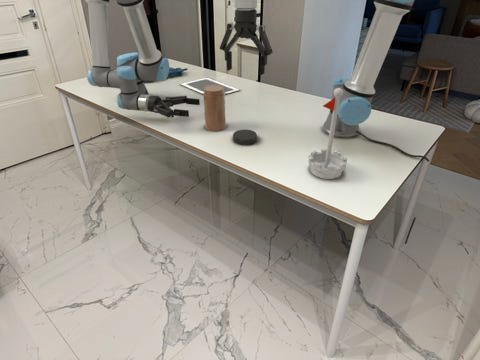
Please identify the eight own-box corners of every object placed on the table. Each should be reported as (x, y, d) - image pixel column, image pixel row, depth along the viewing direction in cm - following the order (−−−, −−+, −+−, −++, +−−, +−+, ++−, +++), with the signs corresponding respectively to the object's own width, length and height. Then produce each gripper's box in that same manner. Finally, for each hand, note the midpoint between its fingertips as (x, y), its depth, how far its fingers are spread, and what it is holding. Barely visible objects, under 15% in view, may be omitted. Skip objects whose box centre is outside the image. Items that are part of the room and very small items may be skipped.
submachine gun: (172, 62, 238) (192, 67, 221) (173, 67, 240) (192, 73, 223) (126, 71, 219) (143, 77, 202) (127, 77, 221) (145, 84, 204)
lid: (240, 132, 148) (240, 127, 147) (260, 137, 144) (261, 132, 143) (228, 141, 141) (228, 136, 140) (249, 147, 137) (249, 141, 136)
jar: (225, 131, 150) (224, 91, 140) (204, 131, 150) (201, 91, 140) (226, 122, 157) (225, 84, 148) (206, 122, 158) (204, 84, 148)
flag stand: (330, 158, 128) (344, 79, 112) (352, 176, 118) (370, 92, 102) (300, 165, 124) (309, 84, 108) (320, 183, 114) (333, 97, 98)
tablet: (180, 84, 205) (180, 83, 205) (207, 78, 216) (207, 77, 216) (211, 98, 184) (211, 97, 184) (240, 90, 196) (240, 89, 195)
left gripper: (163, 101, 167) (204, 105, 163) (138, 122, 147) (184, 127, 143) (161, 86, 163) (202, 90, 159) (135, 105, 143) (182, 110, 139)
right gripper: (284, 9, 114) (280, 73, 125) (219, 6, 123) (221, 65, 135) (275, 12, 108) (272, 78, 120) (208, 8, 117) (211, 70, 129)
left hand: (194, 107), depth 151 cm, fingers open, 13 cm apart
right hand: (245, 71), depth 127 cm, fingers open, 13 cm apart
